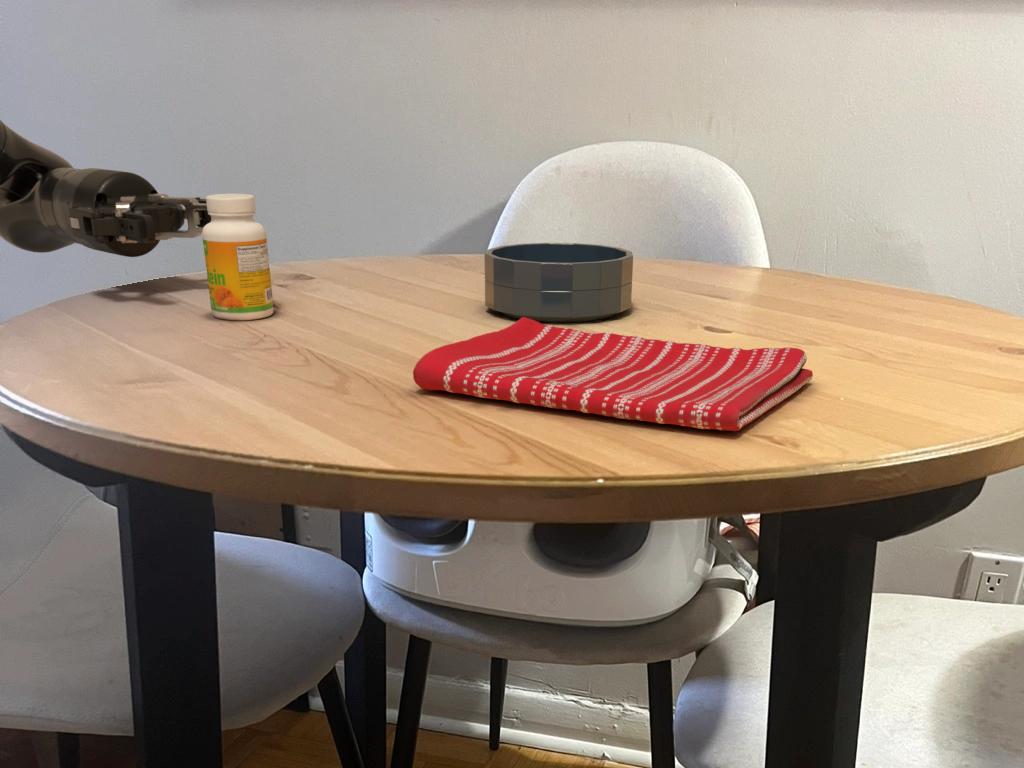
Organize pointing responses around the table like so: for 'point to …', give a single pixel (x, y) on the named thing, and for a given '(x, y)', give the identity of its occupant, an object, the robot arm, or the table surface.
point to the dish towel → (617, 375)
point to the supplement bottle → (236, 259)
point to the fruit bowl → (558, 281)
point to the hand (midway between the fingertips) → (194, 226)
